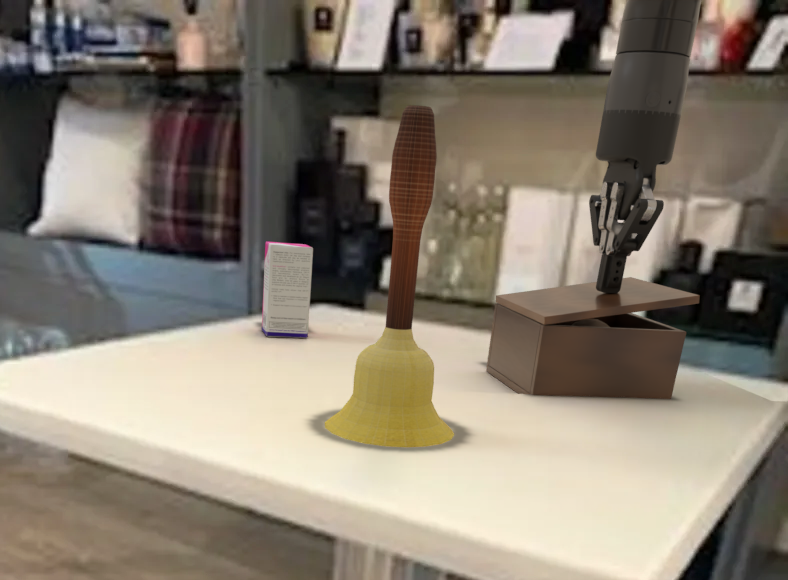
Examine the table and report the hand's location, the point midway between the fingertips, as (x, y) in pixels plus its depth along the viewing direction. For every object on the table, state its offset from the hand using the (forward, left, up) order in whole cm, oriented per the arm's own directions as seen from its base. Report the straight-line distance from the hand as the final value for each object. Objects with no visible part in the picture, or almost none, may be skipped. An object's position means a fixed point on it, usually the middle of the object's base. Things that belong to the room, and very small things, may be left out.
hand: (607, 291), depth 95 cm
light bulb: (0, 0, -10) cm, 10 cm away
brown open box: (+2, 0, -11) cm, 11 cm away
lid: (+2, 0, -1) cm, 2 cm away
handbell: (+28, +22, -11) cm, 37 cm away
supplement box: (+32, -28, -11) cm, 44 cm away
